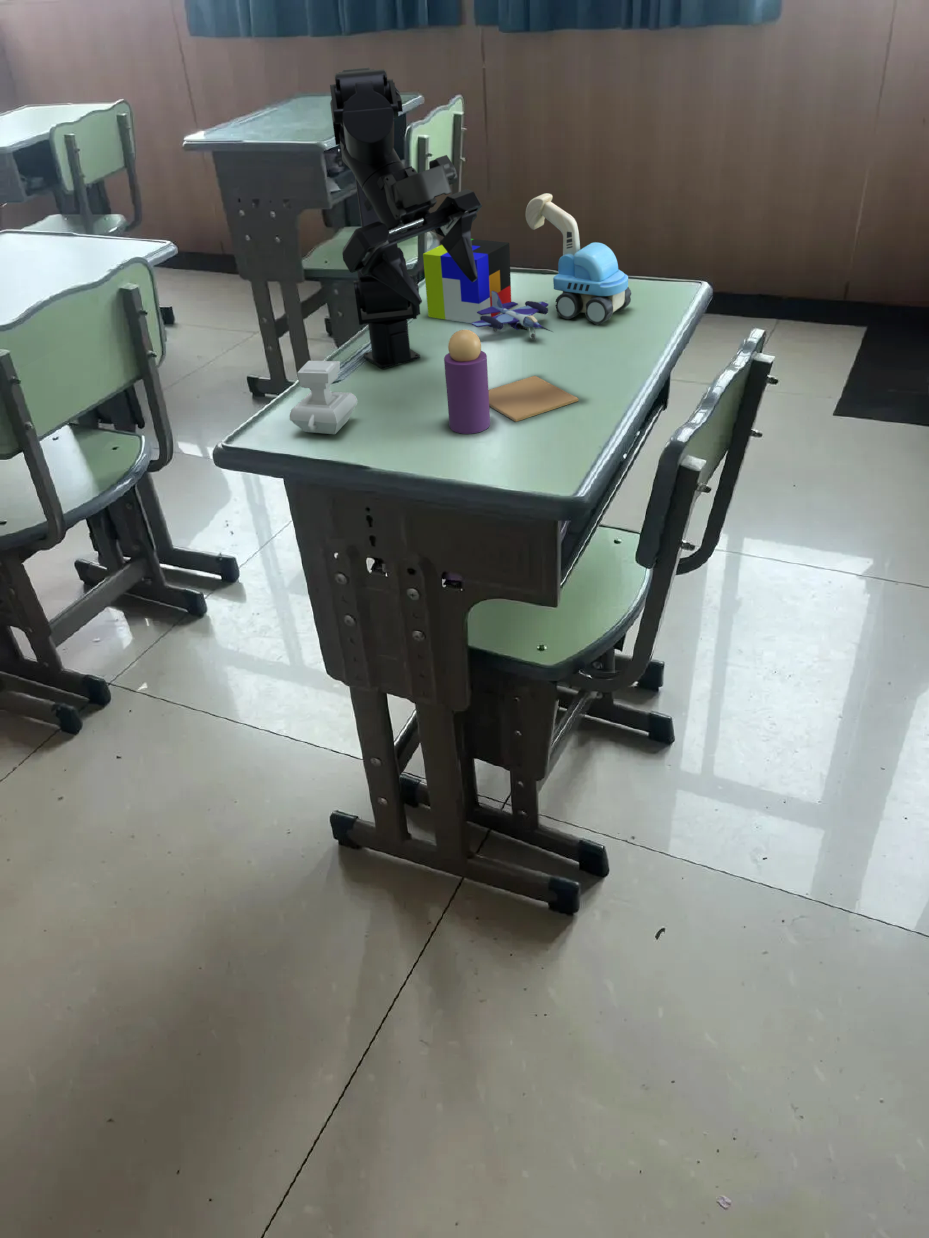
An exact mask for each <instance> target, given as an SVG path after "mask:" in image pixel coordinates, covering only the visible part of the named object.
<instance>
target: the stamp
mask: <svg viewBox="0 0 929 1238" xmlns="http://www.w3.org/2000/svg"><path fill="white" fill-rule="evenodd" d="M340 371H341V361H337V360H336V361H335V360H307V362H306V363H305V364H304V365H303V366H302V367H301V368H300V369H299V370H298V371H297V372H296V374H297V380H298V383H299V386H300V387H301V388H304V389H309V390H310V391H309V392H308V393H307V394H306V396H304V397H303V398H302V399H301V400H300V401H299V402H298V403H297V404H295V406H294V407H293V408H292V409H291V410H290V411H289V421H290V422H292V423H293V424H294V425H295V426H297V427H298V428H299V429H300V430H302V431H303V432H304V433H315V434H326V435H327V434H328V435H336V434H337V433H338V432H339V431H340V430H341V429H342V428H343V426H344V425H345V424H346V423H347V422H348V421H349V420H350V418H351V415H352V414H353V412H354V410H355V408H356V407H357V404H358V402H359V401H358V398H357V397H356V395H355V394H354V393H352V392H345V391H344V392H341V391H332V390H331V385H332V384H333V383H334V382H335V381H336V380H337V379H338V377H339V375H338V374H339V373H340Z"/></svg>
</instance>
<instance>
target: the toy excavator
mask: <svg viewBox="0 0 929 1238" xmlns="http://www.w3.org/2000/svg"><path fill="white" fill-rule="evenodd" d="M545 219H546V220H547V221H548V222H549V223H551V225H553V226H554V227H555V228H557V229H558V230H559V231H560V233H561V234H562V256H560V257H559V259H558V263H557V270H558V273H557V274H556V275H554V276H553V278H552V280H553V281H552V282H553V283H552V284H553V290H555V291H559V292H562V293H561V294H559V295H558V296H557V297H556V298H555V303H556V304H555V311H556V312H557V314H558V315H559V317H561V318H562V319H565V320H570V319H573V318H575V317H577V316H578V315H579V314H580V313H583V314H585V317H586V319H587V320H588V321H589V322H592V323H593V324H594V325H602V324H604V323H605V322H607V321H609V320H610V319H611V318H612V317H613V313H615V312H616V311H617V312H621V311H623V310H624V309H626V308H627V307H628V306H629V305H630V304H631V301H632V297H631V296H632V290H631V288H630V287H629V276H628V274H626V273H624V271H622V270H620V269H619V264H618V259H617V257H616V255H615V253H614V251H613V250H612V249H611V248H610V247H609V246H607V245H606V244H604V243H602V242H598V241H597V242H596V241H594V242H591V243H588V244H587V245H586V246H584V247H582V248H581V242H580V233H579V227H578V223H577V220H576V218H574V216H572V215H571V214H570V213H569V212H567V211H565V210H564V209H562V208H561V207H560V206H558V205H556V204H555V203H554V202H553V194H552V193H542V194H540V195H538V196H535V197H533V198H532V199H530V200H529V202H528V204H527V206H526V207H525V220H526V223H527V225H528V227H529V228H530V229H531V230H532V231H533V230H534V231H535V230H536V229H539V228H540V227H543V226H544V225H545Z"/></svg>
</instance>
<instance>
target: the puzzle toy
mask: <svg viewBox="0 0 929 1238" xmlns="http://www.w3.org/2000/svg"><path fill="white" fill-rule="evenodd" d="M471 243H472V249H473V255H474V260H475V265H476V271H477V276H478V278H477V279H476V280H475V281H474V282H471V281H470V280H469V279H468V278H467V277H466V276H465V274H464V273H463V272H462V271H461V269H460V268H459V267H458V265H457V264H456V263H455V261H454V260H453V259H452V257H451V256H450V255H449V253H448V252H447V251H446V249H445V248H444V247H443V245H442V244H440V245H438V246H437V247H434V248H431V249H430V250H428V251H426V252H424V253H423V254H422V260H423V272H424V282H425V294H426V305H427V315H428V318H432V319H438V320H445V321H451V322H452V321H453V322H459V323H466V324H470V325H472V323H473V322H476V321H480V317H481V316H490V317H494V316H497V315H499V314H501V313H500V312H498V313H491V314H485V315H480V314H478V313H477V312H478V311H480V310H483V309H486V308H489V307H492V291H494V292H497V294H498V296H499V298H500V300H501V303H502V304H504V303H509V302H512V283H511V282H512V281H511V279H512V278H511V276H512V275H511V252H510V248H511V247H510V242H506V241H497V240H489V239H488V240H486V239H476V238H471Z"/></svg>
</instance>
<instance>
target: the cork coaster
mask: <svg viewBox="0 0 929 1238" xmlns="http://www.w3.org/2000/svg"><path fill="white" fill-rule="evenodd" d="M488 391H489V408H491V409H492V410H495V411H497V412H498V413H500V414H501V415H503V416H505V417H507V418H508V419H510V420H512V421H514V423H515V422H516V423H517V422H521V421H523V420H525V419H528V418H529V419H530V418H531V417H534V416H538V415H540V414H543V413H544V414H545V413H547V412H550V411H552V410H556V409H559V408H562V407H565V406H568V405H571V404H574V403H577V402H579V398H578V397H577V396H575V395H573V394H571V393H569V392H567V391H565V390H563V389H561V388H559V387H558V386H556V385H554V384H552V383H549V382H548V381H547V380H546V381H545V380H544V379H542V378H540V377H538V376H536V375H533V376H529V377H526V378H522V379H520V380H516V381H513V382H510V383H506V384H503V385H500V386H497V387H494V388H491V389H488Z"/></svg>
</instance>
